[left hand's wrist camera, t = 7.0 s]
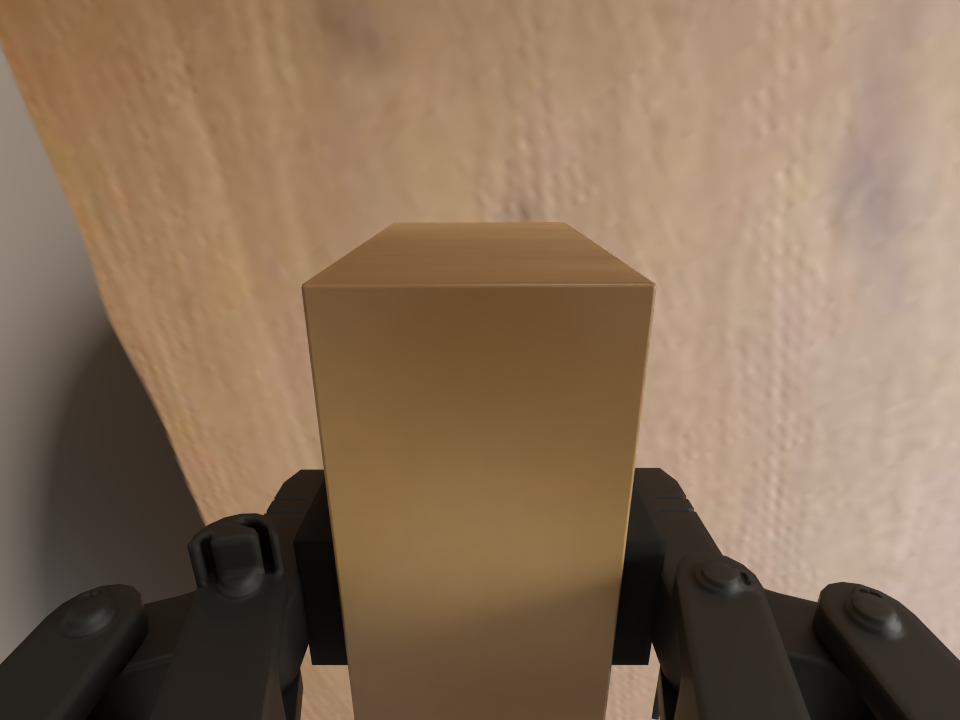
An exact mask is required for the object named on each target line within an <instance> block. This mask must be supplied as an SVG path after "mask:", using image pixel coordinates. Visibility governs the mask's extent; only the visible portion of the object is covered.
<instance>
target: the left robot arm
mask: <svg viewBox="0 0 960 720" xmlns="http://www.w3.org/2000/svg"><path fill="white" fill-rule="evenodd" d="M187 547H188V551H189V555H190V559H191V564H192V568H193V572H194V576H195V580H196V584H197V590H196V591H194V592H191V593H188V594H184V595H181V596H177V597H173V598H169V599H164V600H160V601H156V602H152V603H147V604H143V601H142V598H141V594H140V593H139V592H138V591H137V590H136V589H135V588H134V587H132V586H127V585H122V584H115V585H107V586H101V587H98V588H95V589H92V590H89V591H86V592H83V593H81V594H79V595H77V596H76V597H74V598H72V599H70V600H68V601H66V602H65V603H63V604H62V605H60V606H59V607H58V608H57V609H56V610H54V611H53V612H52V613H51V614H50V615H48V616H47V617H46V618H45V619H44V620H43V621H42V622H41V623H40V624H39V625H38V626H37V627H36V628H35V629H34V630H33V631H32V632H31V633H30V634H29V635H28V636H27V638H26V639H25V640H24V641H23V642H22V643H21V644H20V645H19V646H18V647H17V648H16V649H15V650H14V651H13V652H12V653H11V654H10V655H9V656H8V657H7V658H6V659H5V660H4V661H3V662H2V663H1V664H0V720H300V717H301V706H302V695H303V683H302V676H301V670H300V667H301V664H302V661H303V658H304V655H305V653H306V650H307V647H308V644H309V648H310V654H311V661H312V665H348V661H347V653H346V645H345V637H344V629H343V621H342V612H341V604H340V596H339V588H338V580H337V572H336V564H335V556H334V547H333V539H332V531H331V523H330V515H329V507H328V499H327V491H326V483H325V474H324V470H300V471H299V472H297V473H296V474H295V475H293V476H292V477H291V478H289V479H288V480H287V481H285V482H284V483H283V485H282V487H281V488H280V490H279V491H278V493H277V495H276V496H275V500H274V501H272V503H271V504H270V506H269V508H268V509H267V514H264V515H260V514H257V513H252V514H238V515H234V516H229V517H225V518H223V519H220V520H218V521H216V522H214V523H212V524H209V525H208V526H206V527H205V528H204V529H202V530H201V531H200V532H198V533H197V534H196V535H195V536H194V537H193V539H192V540H191V541H190V543H189V544H188V545H187ZM652 643H653V646H654V649H655V652H656V655H657V657H658V660H659V663H660V670H659V676H658V682H657V688H656V694H655V700H654V706H653V713H652V719H657V720H658V719H659V716H660V720H960V660H959V659H958V658H957V657H956V656H955V655H954V654H953V653H952V652H951V651H950V650H949V649H948V648H947V647H946V646H945V645H944V644H943V643H942V642H941V641H940V640H939V639H938V638H937V637H936V636H935V635H934V634H933V633H932V632H931V631H930V630H929V629H928V628H927V627H926V626H925V625H924V624H923V623H922V622H921V621H920V620H919V618H918V617H917V616H916V615H915V614H913V613H912V612H911V611H910V610H908V609H907V608H906V607H905V606H904V605H902V604H901V603H900V602H899V601H897V600H895V599H893V598H891V597H890V596H888V595H886V594H884V593H882V592H880V591H878V590H875V589H872V588H869V587H867V586H864V585H861V584H854V583H846V582H839V583H833V584H828V585H827V586H826V587H825V588H824V589H823V590H822V591H821V592H820V596H819V599H818V602H814V601H809V600H805V599H801V598H797V597H792V596H788V595H784V594H780V593H776V592H773V591H770V590H767V589H764V588H763V587H762V585H761V583H760V582H759V580H758V579H757V577H756V575H755V574H753V573H752V572H751V571H750V570H749V569H747V568H746V567H745V566H744V565H743V564H741V563H739V562H737V561H735V560H733V559H731V558H729V557H726V556H723V555H722V553H721V552H720V550H719V549H718V547H717V545H716V544H715V542H714V540H713V539H712V537H711V536H710V534H709V532H708V531H707V529H706V528H705V526H704V524H703V523H702V521H701V519H700V518H699V516H698V515H697V513H696V512H694V508H693V507H692V505H691V503H690V502H689V500H688V499H686V495H685V494H684V492H683V490H682V489H681V487H680V485H679V484H678V482H677V481H676V480H675V479H673V478H672V477H671V476H669V475H668V474H667V473H665V472H664V471H663V470H661V469H660V468H635V471H634V480H633V488H632V496H631V505H630V513H629V522H628V530H627V539H626V547H625V555H624V564H623V572H622V581H621V589H620V598H619V606H618V614H617V623H616V631H615V640H614V648H613V657H612V665H648V663H649V657H650V650H651V644H652Z"/></svg>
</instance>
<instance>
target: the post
mask: <svg viewBox="0 0 960 720" xmlns="http://www.w3.org/2000/svg"><path fill="white" fill-rule="evenodd" d="M655 294H656V285H655V283H653V282H652V281H650V280H649V279H647V278H646V277H644V276H643V275H642V274H640V273H639V272H637V271H636V270H634V269H633V268H631V267H630V266H628V265H627V264H625V263H624V262H622V261H621V260H619V259H618V258H617V257H615V256H614V255H612V254H611V253H609V252H608V251H606V250H605V249H603V248H602V247H600V246H599V245H597V244H596V243H594V242H593V241H592V240H590V239H589V238H587V237H586V236H584V235H583V234H581V233H580V232H578V231H577V230H575V229H574V228H572V227H571V226H569V225H568V224H567V223H393V224H392V225H390V226H389V227H387V228H386V229H384V230H383V231H381V232H380V233H378V234H377V235H375V236H374V237H372V238H371V239H369V240H368V241H366V242H365V243H363V244H362V245H360V246H359V247H357V248H356V249H354V250H353V251H351V252H350V253H348V254H347V255H345V256H344V257H343V258H341V259H340V260H338V261H337V262H335V263H334V264H332V265H331V266H329V267H328V268H326V269H325V270H323V271H322V272H320V273H319V274H317V275H316V276H314V277H313V278H311V279H310V280H308V281H307V282H305V283H304V284H302V296H303V304H304V312H305V320H306V328H307V336H308V345H309V353H310V361H311V369H312V377H313V385H314V393H315V401H316V409H317V418H318V426H319V434H320V442H321V450H322V458H323V466H324V474H325V483H326V491H327V499H328V507H329V515H330V523H331V531H332V539H333V547H334V556H335V564H336V572H337V580H338V588H339V596H340V604H341V612H342V621H343V629H344V637H345V645H346V653H347V661H348V669H349V677H350V685H351V694H352V702H353V710H354V718H355V720H605V716H606V707H607V699H608V690H609V682H610V673H611V665H612V657H613V648H614V640H615V631H616V623H617V614H618V606H619V598H620V589H621V581H622V572H623V564H624V555H625V547H626V539H627V530H628V522H629V513H630V505H631V496H632V488H633V480H634V471H635V463H636V454H637V446H638V437H639V429H640V421H641V412H642V404H643V395H644V387H645V378H646V370H647V361H648V353H649V345H650V336H651V328H652V319H653V311H654V302H655Z"/></svg>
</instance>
